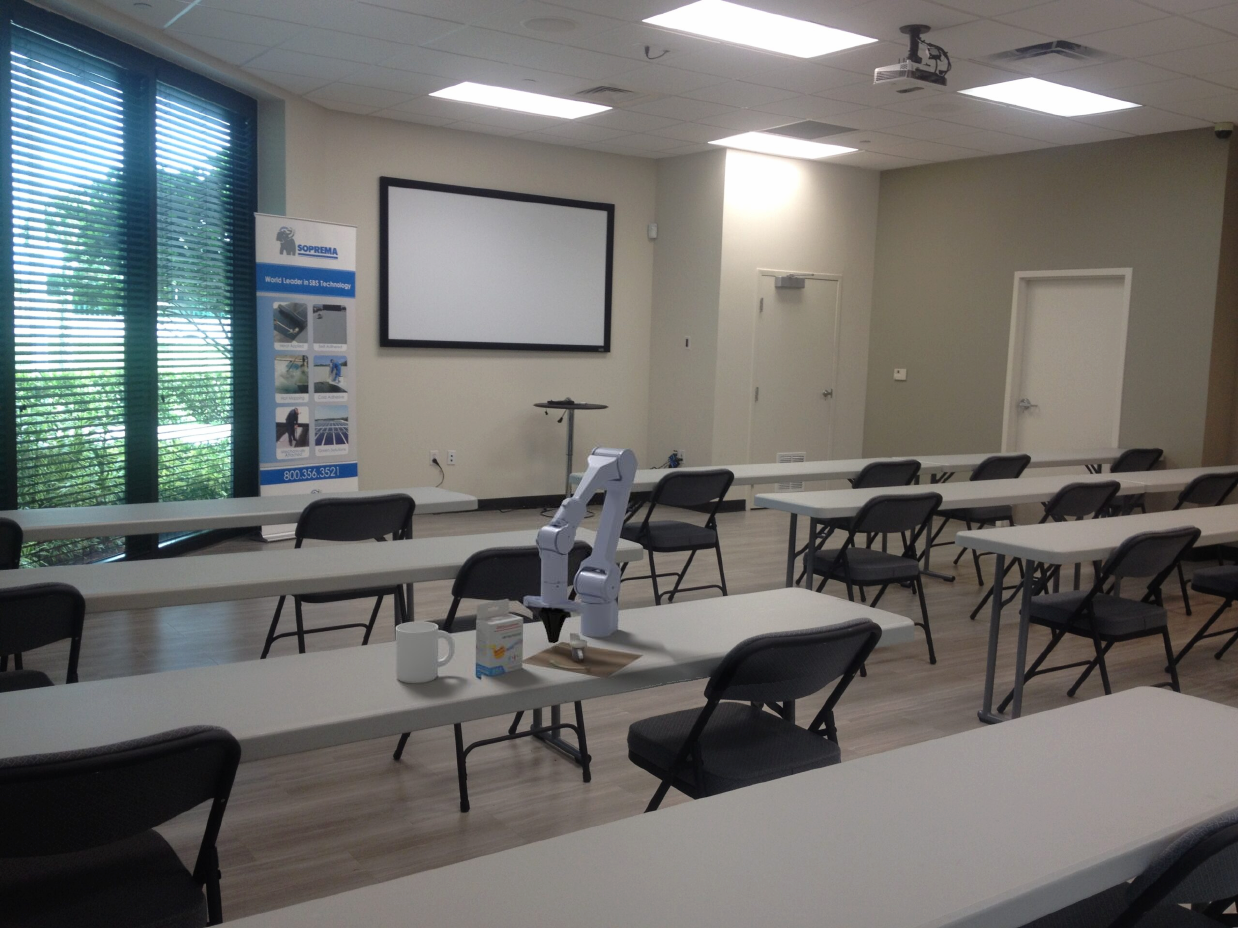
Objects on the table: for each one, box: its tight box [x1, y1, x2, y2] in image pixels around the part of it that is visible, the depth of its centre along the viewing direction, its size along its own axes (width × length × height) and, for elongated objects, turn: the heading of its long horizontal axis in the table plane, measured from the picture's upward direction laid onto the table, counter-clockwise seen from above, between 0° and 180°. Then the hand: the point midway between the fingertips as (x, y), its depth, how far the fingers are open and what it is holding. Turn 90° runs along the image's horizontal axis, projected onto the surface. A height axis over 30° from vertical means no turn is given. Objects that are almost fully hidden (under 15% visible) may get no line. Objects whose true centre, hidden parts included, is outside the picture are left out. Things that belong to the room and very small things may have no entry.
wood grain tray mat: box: [522, 641, 644, 679], centre depth 207 cm, size 18×20×1 cm
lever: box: [569, 632, 588, 662], centre depth 207 cm, size 15×4×4 cm, turn 8°
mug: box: [395, 621, 456, 684], centre depth 197 cm, size 12×8×10 cm
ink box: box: [475, 598, 524, 679], centre depth 198 cm, size 8×5×15 cm, turn 135°
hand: (553, 641), depth 216 cm, fingers closed
